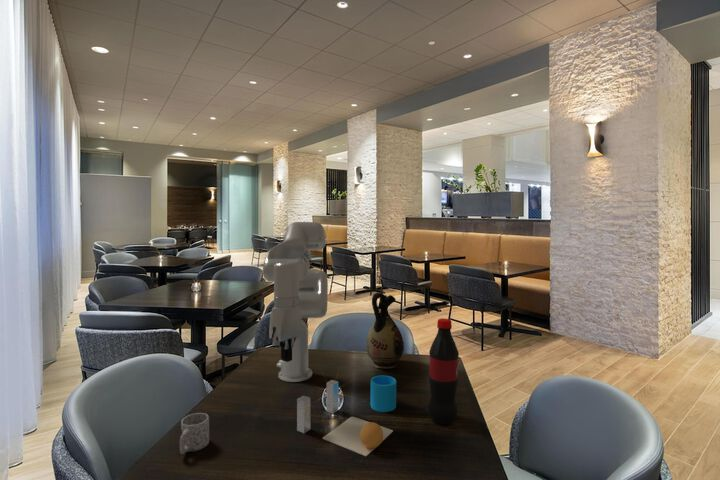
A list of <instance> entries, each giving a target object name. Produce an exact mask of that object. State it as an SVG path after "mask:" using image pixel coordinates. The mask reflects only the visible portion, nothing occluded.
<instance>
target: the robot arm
mask: <svg viewBox="0 0 720 480" xmlns="http://www.w3.org/2000/svg"><path fill="white" fill-rule="evenodd" d="M326 238H327V236H326V232H325V228H324V226H323V224H321V223H320V222H318V221H296V222H295V221H294V222H292V223H290V224H289V225H288V226H287V227H286V230H285V233H284V235H283V241H282V242H280V243H278V244H276V245H274V246H273V247H271V248H270V249H269V250H268V251H267V252H266V255H265V258H264V261H263V264H262V275H263V278H264V279H265V281H267V282H270V283H273V307H272V308H271V311H270V317H269V318H270V319H269V326H268V327H269V330H268V332H269V333H268V334H269V336H268V337H269V339H270V340H272V346H276V347H279V349H280V359H279V361H278V362H277V363H276V367H277V368H280V371H278V374H277V375H278V376H277V377H278V378H279V379H280V381H284V382H287V383H298V382H304V381H307V380H309V379H310V378H312V377H313V371H312V369H311V368H309V327H308V326H307V324H306V323H305V321H304V320H303V319H321V318H324V317H325V316H326V315H327V311H328V296H329V295H328V294H329V293H328V291H329V290H328V287H329V286H328V283H329V282H328V275H327V273H326V272H325V271H324V270H321V269H310V260H309V259H308V257H307V256H306V255H305V253H306V251H322V250H323V249H324V248H325V247H326V243H327V241H326V240H327V239H326Z"/></svg>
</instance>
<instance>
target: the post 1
mask: <svg viewBox="0 0 720 480" xmlns="http://www.w3.org/2000/svg"><path fill="white" fill-rule="evenodd" d="M296 403H297V404H296V431H297V432H300V433H302V434H306V433H307V432H309V431H310V430H311V397H309V396H306V395H302V396H300V397H298V398H296Z"/></svg>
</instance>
